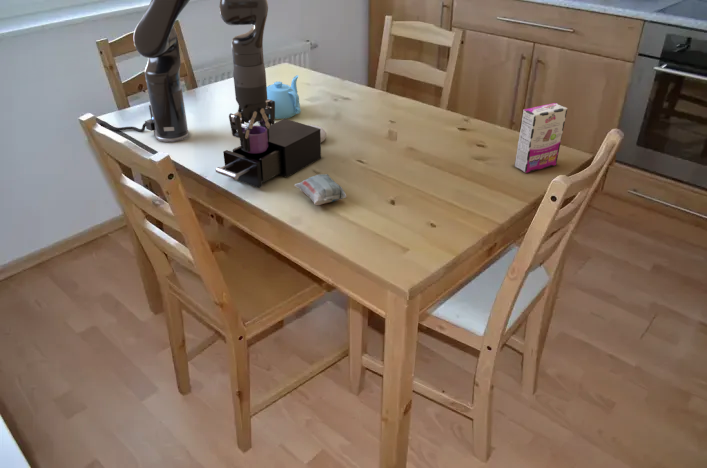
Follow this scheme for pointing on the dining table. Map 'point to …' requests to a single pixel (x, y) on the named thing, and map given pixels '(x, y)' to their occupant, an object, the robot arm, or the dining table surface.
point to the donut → (322, 131)
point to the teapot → (284, 99)
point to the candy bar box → (540, 137)
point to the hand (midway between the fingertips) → (255, 146)
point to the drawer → (252, 165)
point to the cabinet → (295, 144)
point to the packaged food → (321, 189)
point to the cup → (258, 139)
